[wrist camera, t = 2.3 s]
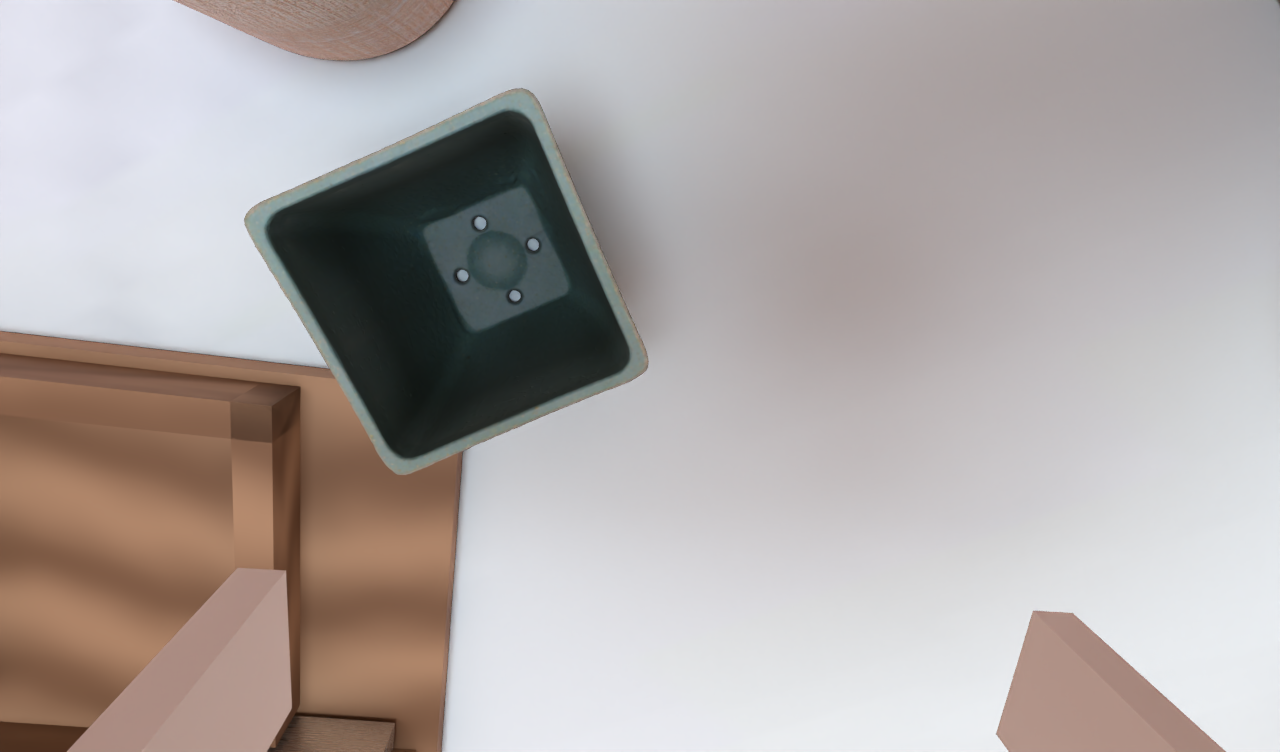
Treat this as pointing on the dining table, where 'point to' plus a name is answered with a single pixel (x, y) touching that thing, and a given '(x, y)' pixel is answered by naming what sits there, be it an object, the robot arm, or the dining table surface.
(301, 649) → the frame
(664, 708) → the dining table surface
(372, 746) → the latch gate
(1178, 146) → the dining table surface
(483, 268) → the flower pot
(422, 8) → the planter
